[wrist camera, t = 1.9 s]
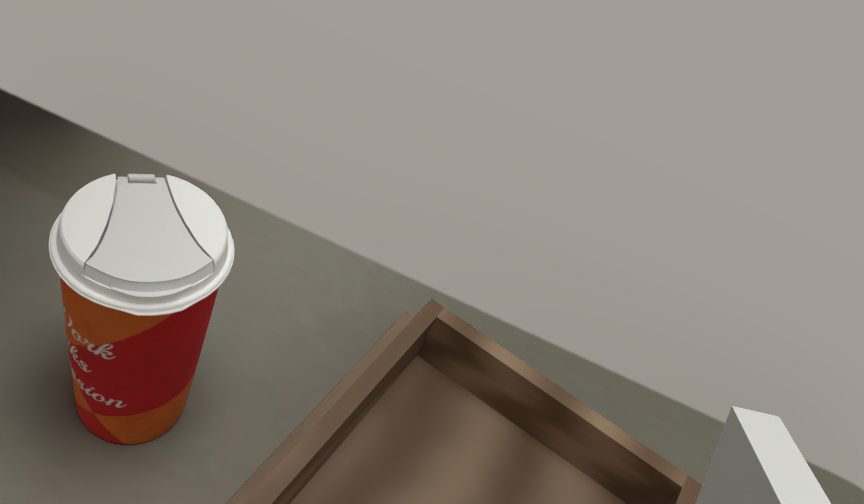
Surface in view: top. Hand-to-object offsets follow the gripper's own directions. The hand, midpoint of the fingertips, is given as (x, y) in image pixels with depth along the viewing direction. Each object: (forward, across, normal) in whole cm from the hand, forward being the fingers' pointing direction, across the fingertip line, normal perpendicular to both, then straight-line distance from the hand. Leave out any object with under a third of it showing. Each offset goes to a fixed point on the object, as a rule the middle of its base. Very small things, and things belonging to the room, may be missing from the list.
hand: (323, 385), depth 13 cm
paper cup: (+25, -14, -19) cm, 34 cm away
